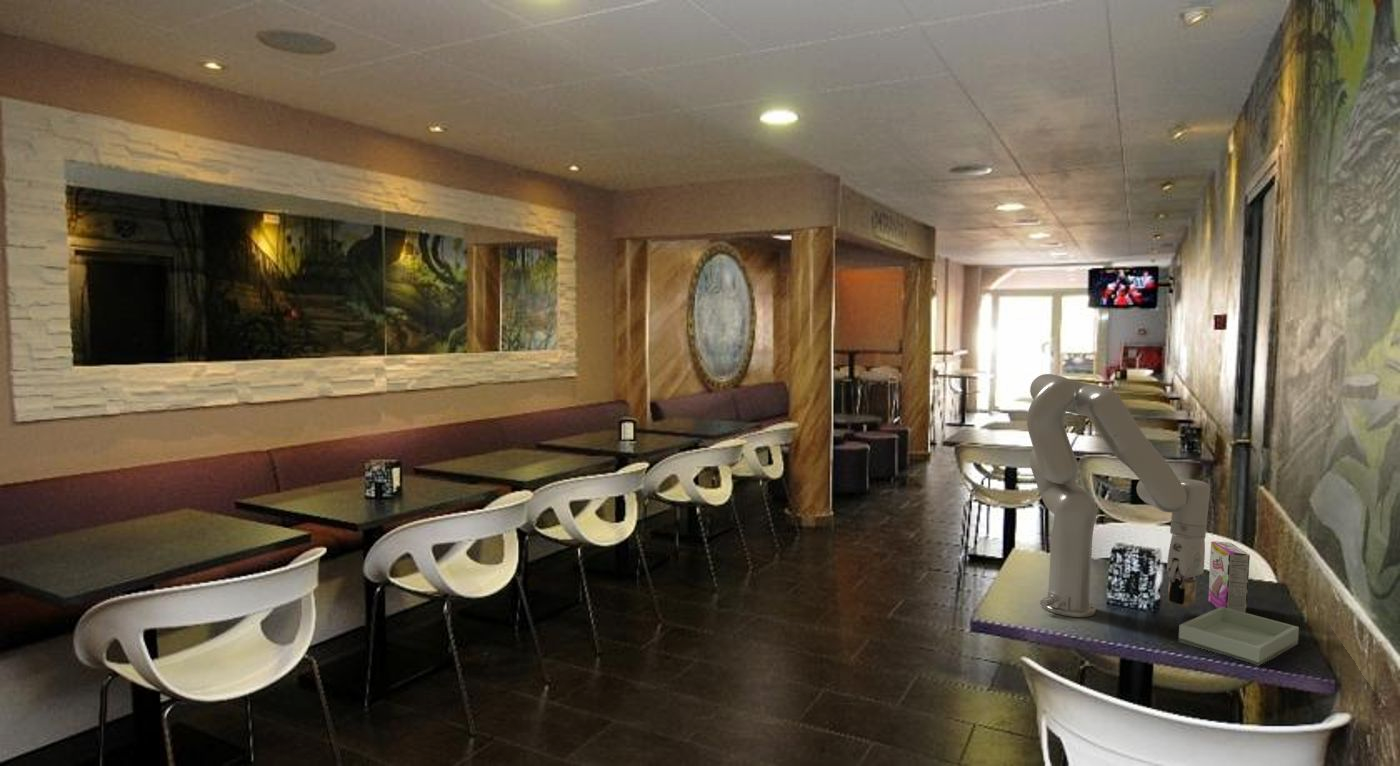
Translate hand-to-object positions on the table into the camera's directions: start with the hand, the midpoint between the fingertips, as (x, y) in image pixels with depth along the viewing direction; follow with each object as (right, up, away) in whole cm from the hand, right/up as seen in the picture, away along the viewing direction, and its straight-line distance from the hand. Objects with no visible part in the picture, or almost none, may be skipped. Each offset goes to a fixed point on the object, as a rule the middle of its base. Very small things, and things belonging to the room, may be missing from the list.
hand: (1180, 600), depth 199 cm
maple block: (0, -1, 0) cm, 1 cm away
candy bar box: (+15, -4, +5) cm, 16 cm away
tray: (+3, -5, -17) cm, 18 cm away
